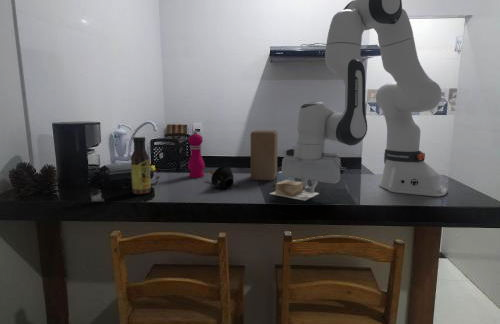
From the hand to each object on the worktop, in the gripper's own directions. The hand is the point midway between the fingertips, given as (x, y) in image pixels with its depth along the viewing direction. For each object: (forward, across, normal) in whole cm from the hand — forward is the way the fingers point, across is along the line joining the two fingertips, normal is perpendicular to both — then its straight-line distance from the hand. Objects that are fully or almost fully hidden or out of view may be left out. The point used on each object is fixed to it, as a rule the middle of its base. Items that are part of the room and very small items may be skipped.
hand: (309, 192), depth 114 cm
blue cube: (+2, +16, -11) cm, 19 cm away
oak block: (+1, +8, 0) cm, 8 cm away
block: (+2, +29, -15) cm, 33 cm away
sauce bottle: (+2, +51, +30) cm, 59 cm away
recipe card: (+2, +6, 0) cm, 6 cm away
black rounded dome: (+2, +36, +5) cm, 36 cm away
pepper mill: (+2, +55, -1) cm, 55 cm away
